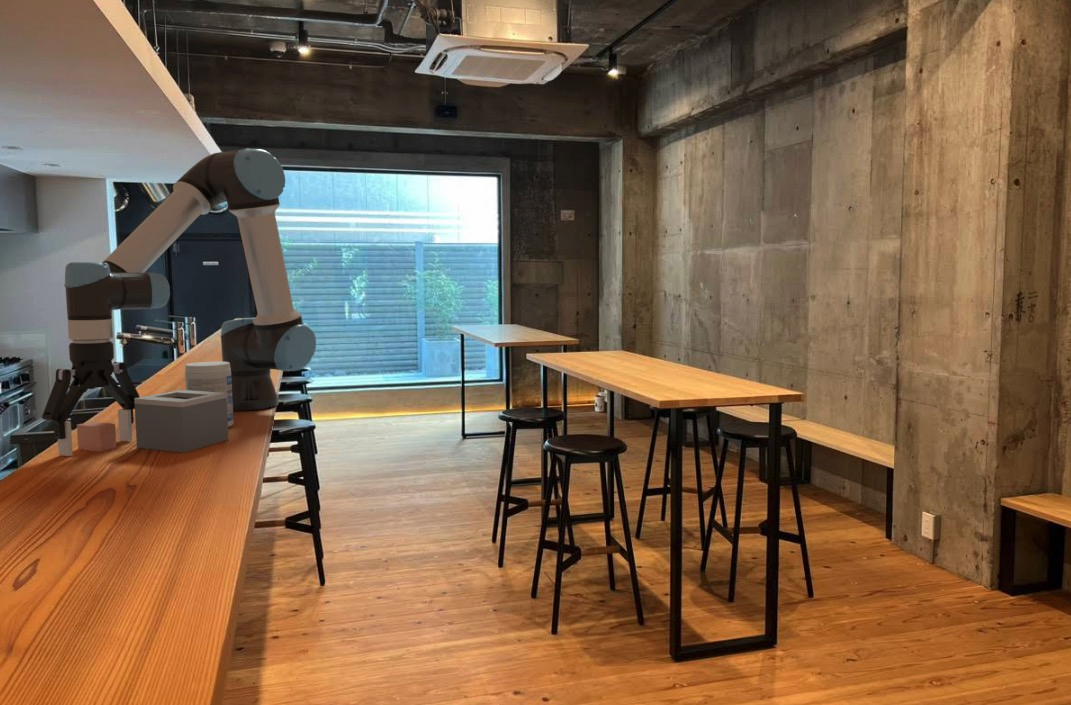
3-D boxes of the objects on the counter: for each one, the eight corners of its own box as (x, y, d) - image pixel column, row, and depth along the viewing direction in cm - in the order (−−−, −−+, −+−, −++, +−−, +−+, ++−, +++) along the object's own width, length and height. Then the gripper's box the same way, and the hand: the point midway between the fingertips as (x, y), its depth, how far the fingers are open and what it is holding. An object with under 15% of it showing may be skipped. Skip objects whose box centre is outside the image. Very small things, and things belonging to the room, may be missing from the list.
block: (78, 449, 147) (76, 424, 146) (94, 445, 150) (92, 421, 149) (101, 452, 145) (99, 427, 144) (116, 448, 148) (115, 423, 147)
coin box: (183, 435, 159) (181, 389, 158) (228, 440, 155) (226, 392, 154) (136, 447, 148) (134, 398, 147) (184, 452, 144) (181, 402, 143)
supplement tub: (240, 427, 168) (237, 363, 166) (197, 433, 161) (193, 367, 160) (223, 421, 175) (221, 359, 173) (181, 427, 168) (178, 363, 167)
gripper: (130, 335, 158) (135, 433, 160) (14, 345, 135) (22, 460, 137) (157, 337, 156) (161, 436, 158) (44, 347, 132) (51, 463, 134)
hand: (97, 447), depth 147 cm, fingers open, 13 cm apart
